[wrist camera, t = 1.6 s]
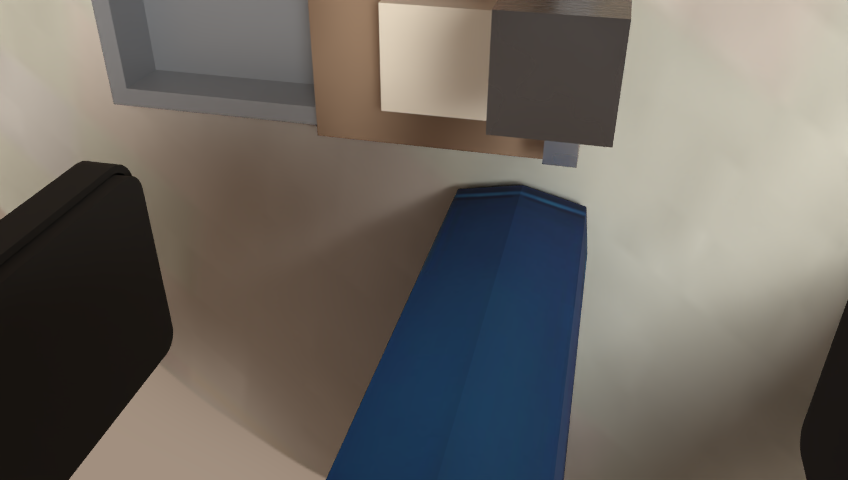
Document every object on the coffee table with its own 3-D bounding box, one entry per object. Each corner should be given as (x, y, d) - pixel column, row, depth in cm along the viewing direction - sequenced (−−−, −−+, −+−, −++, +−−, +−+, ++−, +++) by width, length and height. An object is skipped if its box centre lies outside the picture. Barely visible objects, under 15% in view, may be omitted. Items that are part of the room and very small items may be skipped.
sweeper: (657, -232, 23) (666, -227, 14) (604, 144, 29) (589, 302, 21) (553, -233, 23) (504, -229, 15) (524, 136, 30) (478, 287, 21)
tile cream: (499, -1, 27) (492, 10, 26) (493, 105, 30) (486, 121, 28) (390, -9, 28) (378, 2, 27) (391, 96, 30) (381, 110, 29)
